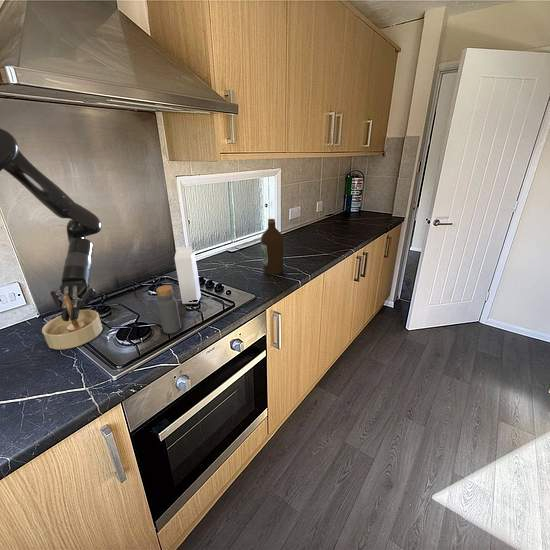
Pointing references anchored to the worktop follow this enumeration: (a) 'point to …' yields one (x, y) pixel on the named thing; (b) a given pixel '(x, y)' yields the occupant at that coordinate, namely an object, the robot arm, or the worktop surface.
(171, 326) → the bottle
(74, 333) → the bowl
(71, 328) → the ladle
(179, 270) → the milk
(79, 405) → the worktop surface
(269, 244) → the olive oil
